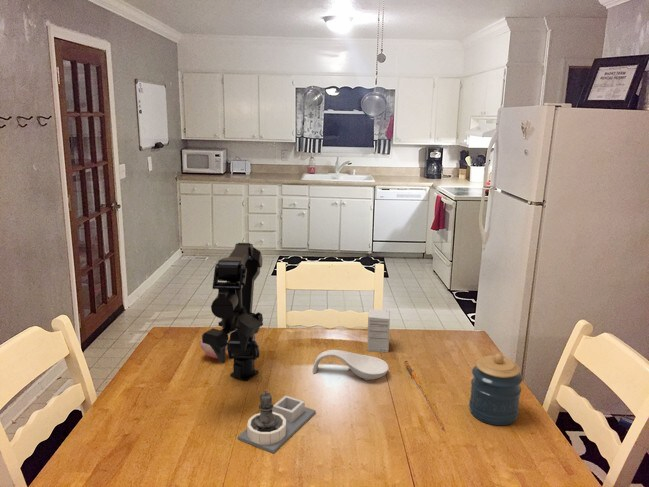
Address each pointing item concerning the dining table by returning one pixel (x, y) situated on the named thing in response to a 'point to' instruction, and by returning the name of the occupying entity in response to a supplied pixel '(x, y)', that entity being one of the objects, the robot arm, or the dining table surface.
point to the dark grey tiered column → (266, 414)
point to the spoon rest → (357, 363)
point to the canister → (495, 390)
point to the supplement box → (378, 330)
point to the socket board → (278, 424)
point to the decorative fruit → (209, 350)
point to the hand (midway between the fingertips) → (233, 356)
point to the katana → (415, 379)
